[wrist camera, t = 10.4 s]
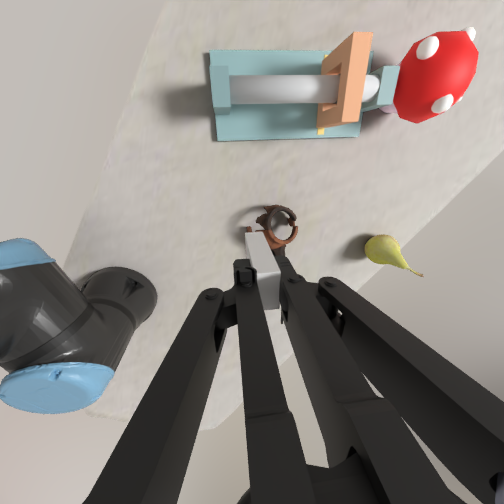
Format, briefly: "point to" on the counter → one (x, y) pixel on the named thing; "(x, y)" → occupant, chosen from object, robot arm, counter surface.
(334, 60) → the peach rectangular collar
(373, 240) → the fruit
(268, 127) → the pipe rig
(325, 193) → the counter surface
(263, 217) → the pottery mug
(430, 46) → the mushroom
